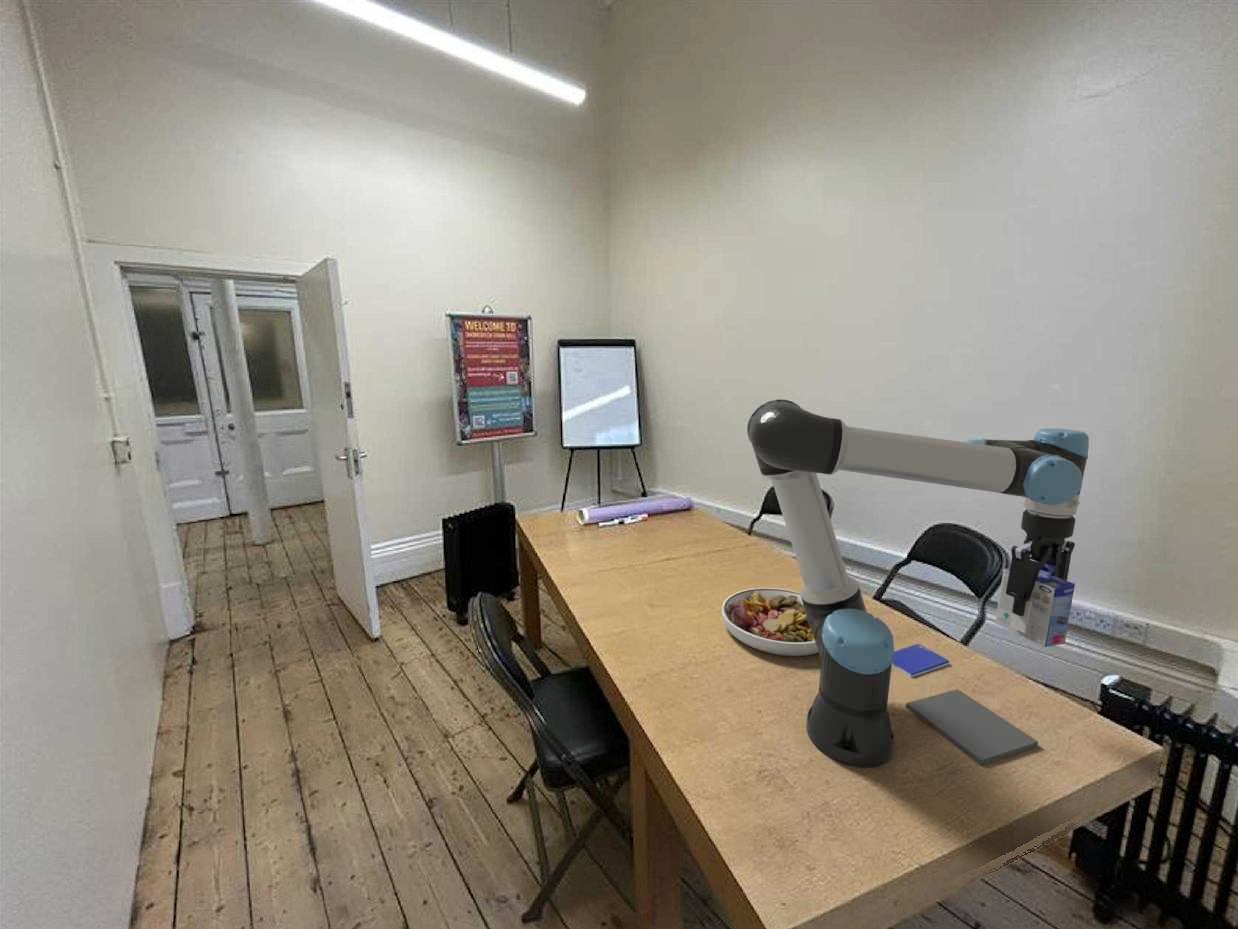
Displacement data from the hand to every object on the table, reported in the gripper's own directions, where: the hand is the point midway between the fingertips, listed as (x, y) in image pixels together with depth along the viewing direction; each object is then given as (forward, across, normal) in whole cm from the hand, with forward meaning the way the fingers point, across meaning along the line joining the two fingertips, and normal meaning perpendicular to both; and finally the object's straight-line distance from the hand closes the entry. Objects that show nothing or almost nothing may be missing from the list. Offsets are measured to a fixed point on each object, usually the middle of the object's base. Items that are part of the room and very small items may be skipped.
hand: (1029, 626), depth 100 cm
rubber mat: (+19, -13, 0) cm, 23 cm away
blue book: (+19, -5, +20) cm, 28 cm away
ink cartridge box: (+2, 0, 0) cm, 2 cm away
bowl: (+19, -26, +43) cm, 54 cm away
